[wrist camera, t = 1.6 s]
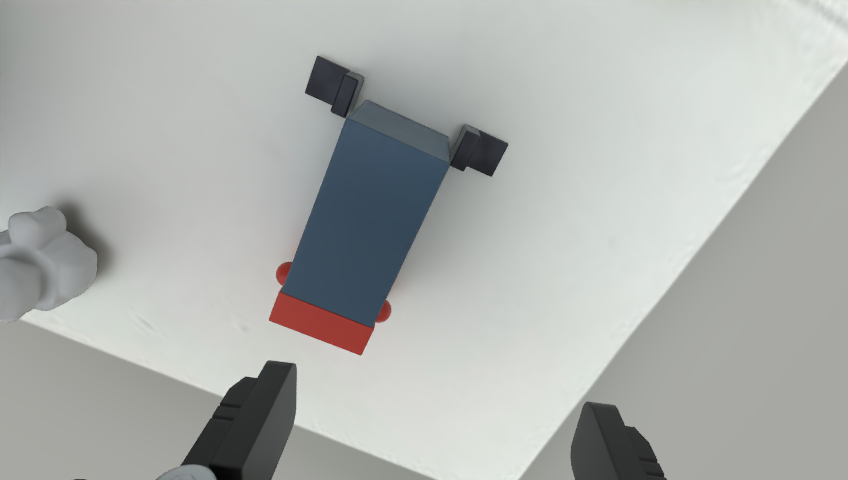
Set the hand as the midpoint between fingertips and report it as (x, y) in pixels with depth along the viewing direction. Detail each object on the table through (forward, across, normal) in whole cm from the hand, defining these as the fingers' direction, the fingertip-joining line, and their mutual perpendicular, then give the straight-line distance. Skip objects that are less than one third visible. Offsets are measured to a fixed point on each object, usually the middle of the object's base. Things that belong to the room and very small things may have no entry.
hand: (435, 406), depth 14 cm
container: (+16, +4, 0) cm, 16 cm away
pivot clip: (+16, +3, -5) cm, 17 cm away
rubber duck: (+16, +23, +5) cm, 28 cm away
